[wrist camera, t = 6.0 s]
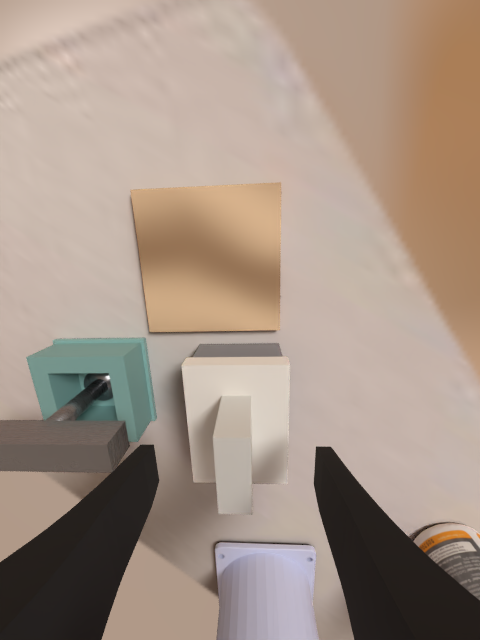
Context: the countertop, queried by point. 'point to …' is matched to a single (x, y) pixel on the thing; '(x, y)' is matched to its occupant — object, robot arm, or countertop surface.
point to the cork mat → (210, 256)
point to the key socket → (97, 357)
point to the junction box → (239, 350)
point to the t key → (66, 437)
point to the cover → (237, 424)
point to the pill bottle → (454, 552)
